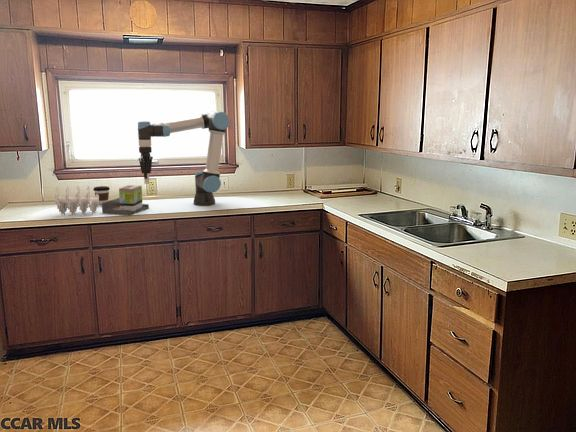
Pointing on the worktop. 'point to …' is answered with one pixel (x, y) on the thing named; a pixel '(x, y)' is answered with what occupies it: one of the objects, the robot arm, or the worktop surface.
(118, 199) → the tray
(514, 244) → the worktop surface
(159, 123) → the robot arm
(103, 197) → the coffee cup
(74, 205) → the grey translucent row part
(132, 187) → the tea box
